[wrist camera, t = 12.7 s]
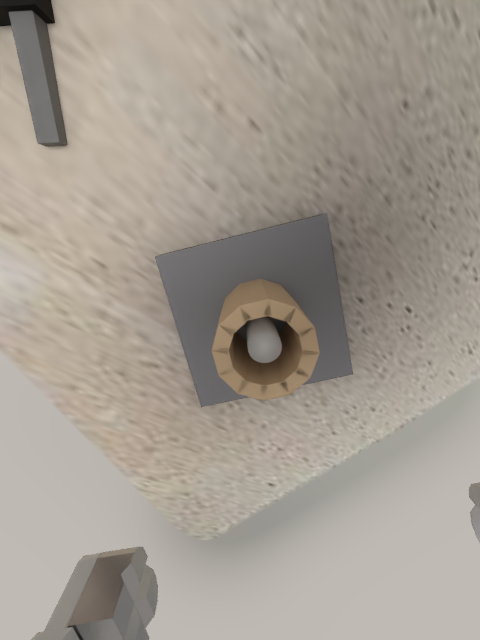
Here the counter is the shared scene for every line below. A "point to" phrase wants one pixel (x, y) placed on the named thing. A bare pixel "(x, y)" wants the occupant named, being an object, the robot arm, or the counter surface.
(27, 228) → the counter surface
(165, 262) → the roll holder
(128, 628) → the robot arm
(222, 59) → the counter surface
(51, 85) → the black two-tone tubular device
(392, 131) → the counter surface
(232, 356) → the paper roll
